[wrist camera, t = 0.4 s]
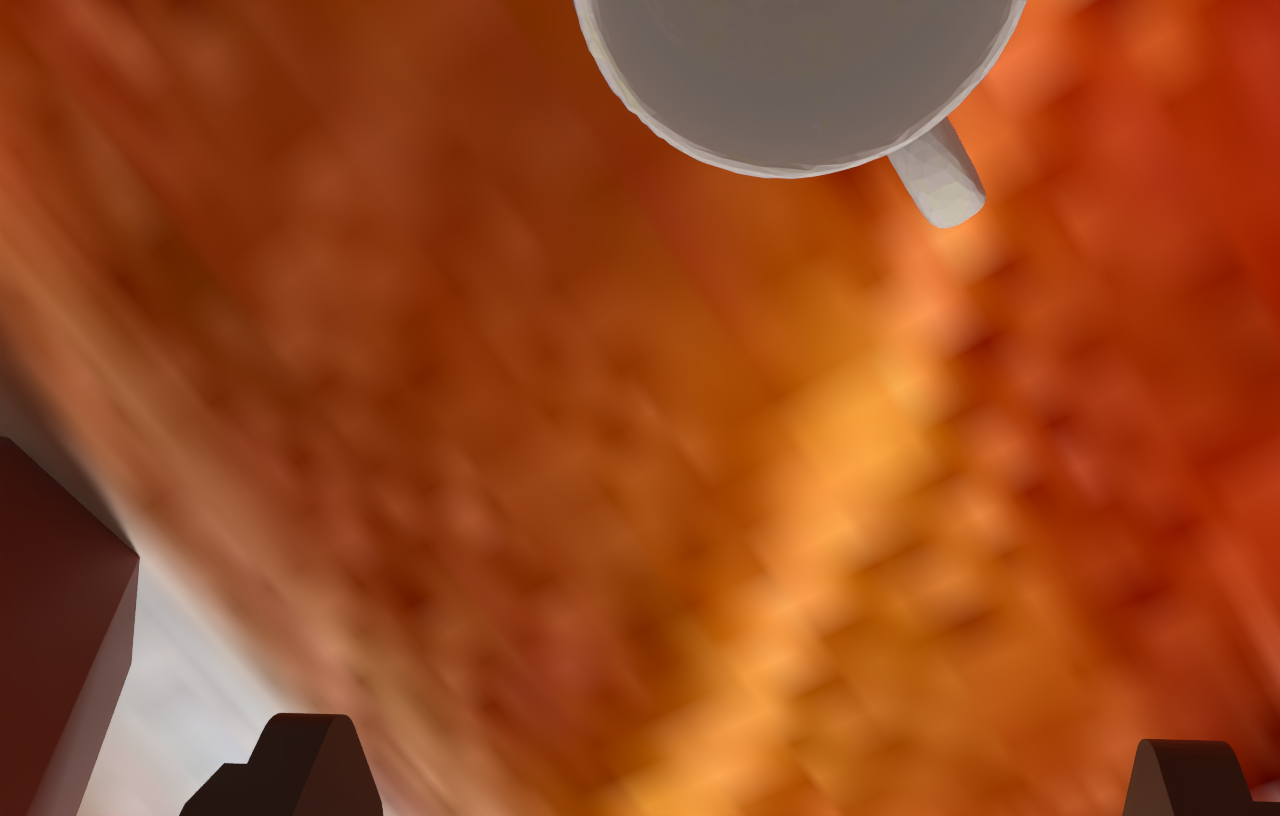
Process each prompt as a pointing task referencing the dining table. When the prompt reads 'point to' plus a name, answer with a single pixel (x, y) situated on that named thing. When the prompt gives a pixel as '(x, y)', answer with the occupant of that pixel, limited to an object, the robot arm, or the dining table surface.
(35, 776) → the bucket
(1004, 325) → the dining table surface
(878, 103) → the teacup
